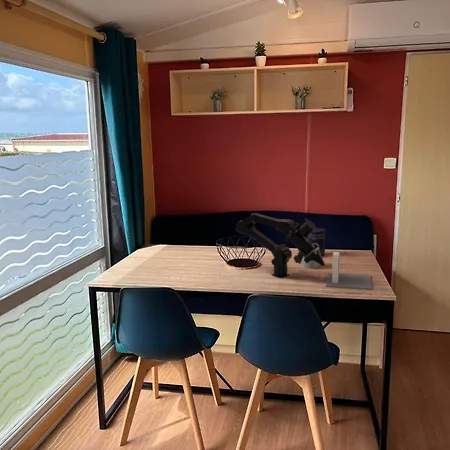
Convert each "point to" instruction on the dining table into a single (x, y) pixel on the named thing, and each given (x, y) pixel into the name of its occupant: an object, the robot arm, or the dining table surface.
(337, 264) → the cream flat block
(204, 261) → the dining table surface
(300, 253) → the robot arm
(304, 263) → the cup
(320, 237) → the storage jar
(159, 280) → the dining table surface
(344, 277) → the mat
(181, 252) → the dining table surface
